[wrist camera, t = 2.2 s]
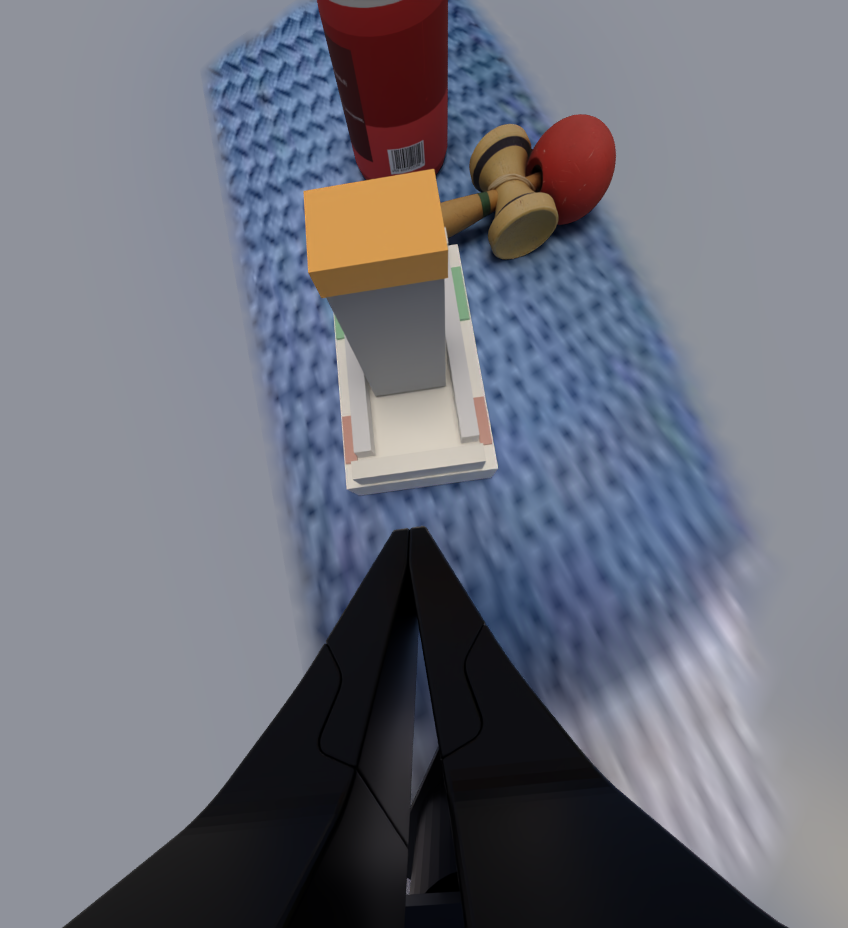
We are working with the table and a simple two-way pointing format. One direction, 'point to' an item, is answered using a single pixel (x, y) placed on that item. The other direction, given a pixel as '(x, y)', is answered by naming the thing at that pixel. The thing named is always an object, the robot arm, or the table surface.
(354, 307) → the handle
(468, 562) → the table surface
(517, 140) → the kendama
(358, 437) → the railed base plate
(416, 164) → the canned food
